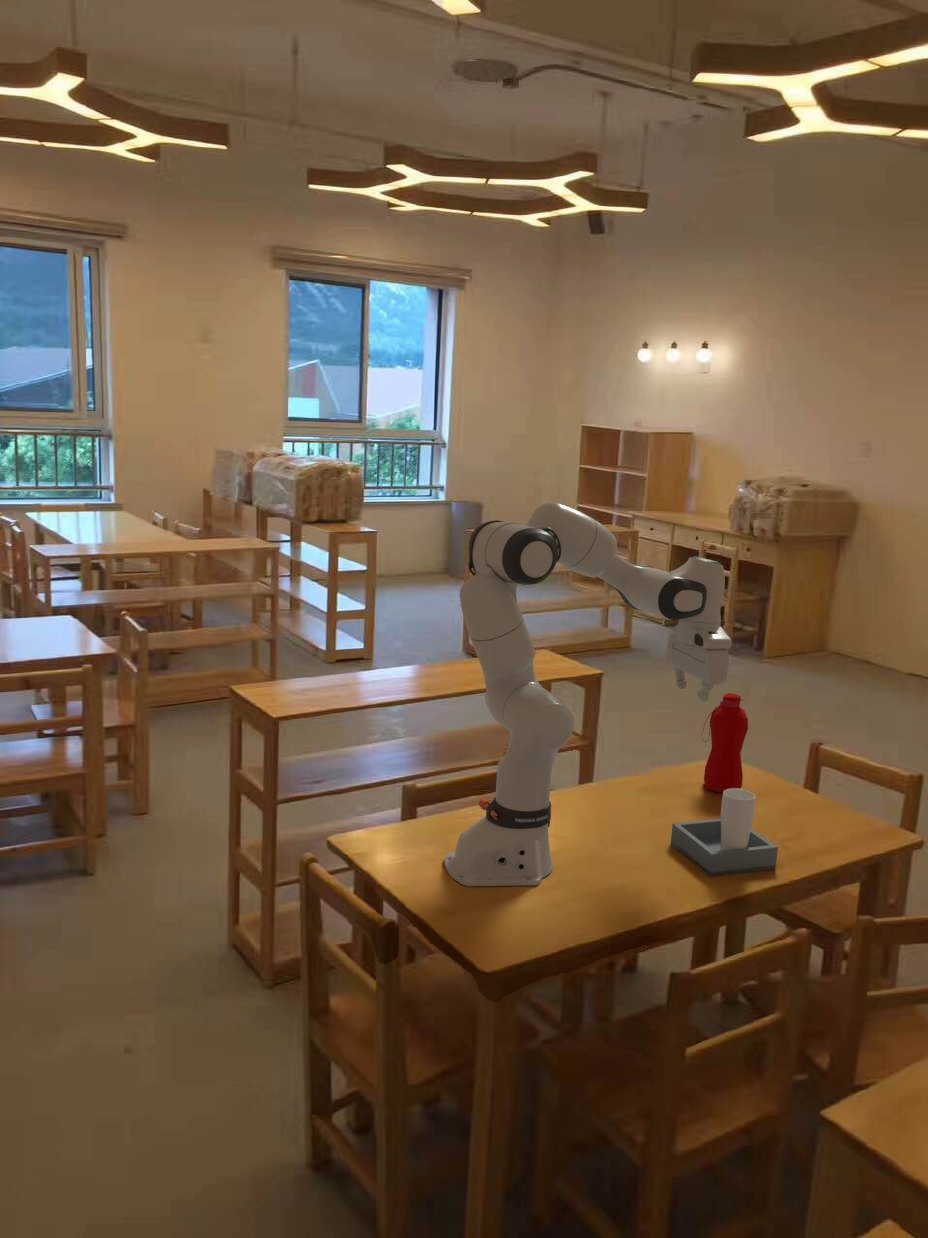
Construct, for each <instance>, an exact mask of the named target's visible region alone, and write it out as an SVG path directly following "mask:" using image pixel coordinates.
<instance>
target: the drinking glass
mask: <svg viewBox="0 0 928 1238" xmlns="http://www.w3.org/2000/svg"><path fill="white" fill-rule="evenodd" d="M721 797H722V799H721V807H720V808H721V809H720V819H721V847H720V851H723V850H732V849H741V848H747V847H748V842H749V837H750V832H751V829H753V828H752V827H753V823H754V818H755V811H756V798H757V797H756V794H755V793H754V792H751V791H749V790H747V789H745V788H741V789H737V788H731V789H726V790H724V792H723V793H722V796H721Z"/></svg>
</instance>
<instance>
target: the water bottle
mask: <svg viewBox="0 0 928 1238" xmlns="http://www.w3.org/2000/svg"><path fill="white" fill-rule="evenodd" d="M742 701H743V699H742V697H741V695H739V694H738V693H733V692H732V693H731V692H727V693H724V694H723V696H722V701H720V702H719V705H717V706H716V707H715V708H714V709H713V710H712V712H710V713H709V715H708V716H707V717H706V720H705V722H704V724H703V728H702V732H701V735H703V733H704V729H705V726H706V723H707V720H709V731H708V736H710V737H708V738H707V739H706V740H704V739H703V738H701V739H702V741H703V742H704V743H707V742H708V741H709V738H711V739H710V740H711V750H710V752H709V755H708V759H707V761H706V764H705V766H704V777H703V781H704V783H703V784H704V786H705V788H706V789H707V790H708V791H710V792H712V793H721V794H723V792H724V790H726V789H731V788H737V789H743V788H742V787H743V780H744V775H743V765H742V755H741V754H742V753H741V752H742V749H743V745H744V742H745V739H746V736H747V733H748V730H749V718H748V716H747V714H746V710H745V709H744V708H743V707H741V702H742ZM709 717H710V719H709Z"/></svg>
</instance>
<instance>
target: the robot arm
mask: <svg viewBox="0 0 928 1238" xmlns="http://www.w3.org/2000/svg"><path fill="white" fill-rule="evenodd" d="M617 552H618V542H617V538H616V536H615V535H614V534H613V533H612V532H611V531H610V530H609V529H608V528H607V527H606V526H605V525H603V524H602V523H600V522H599V521H598V520H596V519H595V518H593V517H591V516H589V515H587V514H586V513H583V512H582V511H580V510H577V509H576V508H573V507H571V506H568V505H567V504H566V505H565V504H563V503H560V502H557V501H556V502H555V501H548V502H545V503H542V504H541V505H539V506H538V507H537V508H536V509H535V510H534V511H533V513H532V514H531V516H530V518H529V520H528V522H527V523H525V524H521V523H518V522H517V523H516V522H512V521H503V520H489V521H486V522H484V523H481V524H479V525H478V526H477V527H475V529H474V530H473V531H472V532H471V535H470V538H469V541H468V557H469V560H468V570H469V572H470V573H471V574H472V576H471V577H469V578H468V579H467V580H466V581H464V583H463V584H462V585H461V587H460V589H459V601H460V607H461V612H462V615H463V616H462V617H463V619H464V624H465V626H466V627H465V628H466V630H467V633H468V635H469V639H470V640H471V641H470V642H471V643H472V646H473V649H474V651H475V654H476V657H477V658H478V661H479V664H480V667H481V670H482V674H483V678H484V682H485V683H484V685H485V690H486V692H485V696H484V697H485V699H484V701H485V705H486V708H487V710H488V712H489V713H490V715H491V716H492V717H493V719H494V720H495V721H496V722H497V723H498V724H499V725H501V726H502V727H503V728H505V729H506V730H507V731H508V733H509V743H508V746H507V750H506V753H505V755H504V756H503V757H502V758H500V759H499V761H498V763H497V768H496V782H495V784H496V785H495V786H496V787H495V797H494V798H493V800H492V801H491V802H490V801H489V800H488V799H487V798H485V797H482V798H480V799H479V800H478V806H479V807H480V808H481V809H482V810H483V811H486V812H485V816H484V817H482V818H481V819H480V820H478V821H477V822H475V823H474V824H472V826H470V827H469V828H466V829H465V830H464V831H462V832H461V833H460V834H459V837H458V840H457V843H456V846H455V851H450V852H447V853H446V854H445V857H444V861H443V863H444V864H443V865H444V868H445V870H446V872H447V873H448V875H450V877H451V878H452V879H453V880H455V881H456V882H458V883H459V884H461V885H463V886H465V887H495V886H496V887H499V886H500V887H502V886H511V887H512V886H537V885H540V884H541V882H542V880H543V878H545V877H547V876H548V875H549V874H550V873H552V871H553V868H554V865H553V860H552V856H551V851H550V850H551V849H550V840H549V839H550V837H549V828H550V825H551V818H552V803H551V801H550V798H551V782H552V772H553V768H554V763H555V760H556V757H557V754H558V752H559V749H560V748H561V747H563V746H565V744H566V743H567V742H568V741H569V740H570V739H571V737H572V734H573V732H574V726H575V720H574V716H573V713H572V712H571V710H570V708H569V707H568V706H567V705H566V704H565V703H564V701H563V700H562V699H561V698H560V697H559V696H557V695H555V694H554V693H552V692H550V691H549V690H547V689H545V688H544V687H543V686H542V685H541V684H540V683H539V681H538V679H537V677H536V674H535V669H534V660H535V657H536V650H535V647H534V644H533V639H532V638H531V635H530V632H529V630H528V627H527V624H526V622H525V619H524V617H523V613H522V610H521V608H520V606H519V604H518V599H517V587H518V585H521V586H528V585H529V586H530V585H531V586H532V585H536V584H539V583H542V582H543V581H545V580H547V578H548V577H549V576H550V575H551V574H552V572H553V570H554V569H555V567H556V565H557V563H558V564H559V565H561V566H562V567H564V568H567V569H568V570H570V571H571V572H573V573H574V572H575V573H577V574H579V575H583V576H585V577H589V578H593V579H594V578H598V579H599V580H601V581H603V582H604V583H606V584H607V585H609V586H611V587H612V588H614V589H615V591H616V592H617V593H618V594H619V596H620V598H621V599H622V600H623V602H624V603H625V604H626V605H627V607H629V608H630V609H632V610H636V611H640V612H644V613H647V614H650V615H653V616H655V617H659V618H661V619H664V620H668V621H678V622H677V624H675V626H674V627H672V632H671V633H670V634H669V636H668V639H667V645H666V651H665V661H666V663H667V664H669V665H672V666H673V667H674V669H673V670H674V676H675V679H676V681H675V687H676V688H678V689H682V690H683V689H686V688H687V680H686V677H685V674H686V673H687V674H688V675H691V676H692V677H695V678H696V679H698V680H700V681H701V684H700V685H701V689H700V690H699V691H698V692H697V699H698V700H700V701H702V702H706V701H708V700H709V694H710V692H711V691H712V689H713V687H714V686H718V685H720V686H721V685H723V684H725V683H726V680H727V677H728V672H729V671H728V670H729V663H730V654H729V650H728V649H731V648H732V645H733V643H732V642H733V641H732V638H731V637H730V635H728V634H727V633H726V632H725V629H724V628H723V627H722V626H721V622H722V616H721V609H722V605H723V603H724V595H725V588H726V587H725V585H726V582H725V581H726V580H725V579H726V578H725V577H726V574H725V569H724V566H723V565H722V563H721V562H719V561H717V560H713V559H708V558H704V557H701V556H700V557H699V556H690V557H689V558H688V559H687V561H686V562H685V563H684V564H682V565H680V567H678V568H676V569H674V570H670V571H667V570H662V569H658V568H656V567H654V566H651V565H647V564H639V563H638V564H634V563H631V562H629V561H628V560H626V559H624V558H623V557H621V556H620V555H618V554H617Z"/></svg>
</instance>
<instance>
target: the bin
mask: <svg viewBox="0 0 928 1238" xmlns="http://www.w3.org/2000/svg"><path fill="white" fill-rule="evenodd" d="M670 846H672V847H673V848H674V849H675V850H676V851H678V852H679V853H680V854H682V856H684V857H685V858H686V859H688V861H690V862H691V863H692V864H694V865H695V867H697V868H698V869H699V870H701V871H702V872H703V873H704V874H706V875H707V876H708V877H710V878H712V877H713V878H714V877H720V876H728V875H730V876H731V875H737V874H747V873H754V872H755V873H756V872H761V871H762V872H763V871H772V870H776V869H777V861H778V860H777V859H778V850H779V847H778V846H777V845H775V843H773V842H772V841H770V840H769V839H767V838H766V837H765V836H762V835H761V834H760V833H758V832H757V831H755V829H753V828H751V832H750V837H749V842H748V847H747V848H741V849H732V850H723V851H720V847H721V818H715V819H713V818H712V819H705V820H704V819H703V820H694V821H685V822H683V821H682V822H675V823H674V822H673V823H672V825H671V836H670ZM771 869H772V870H771Z"/></svg>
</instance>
